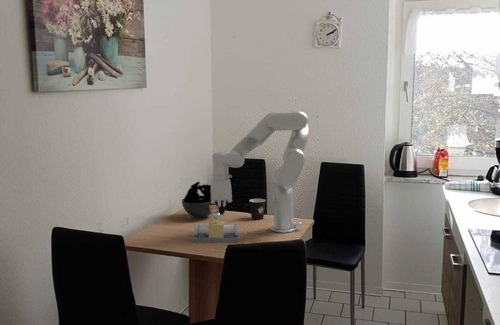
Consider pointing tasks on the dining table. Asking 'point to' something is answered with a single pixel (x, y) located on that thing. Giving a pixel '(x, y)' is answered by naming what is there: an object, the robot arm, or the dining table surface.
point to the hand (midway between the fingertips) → (221, 214)
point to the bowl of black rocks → (198, 201)
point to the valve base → (226, 239)
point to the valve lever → (214, 211)
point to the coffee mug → (256, 208)
